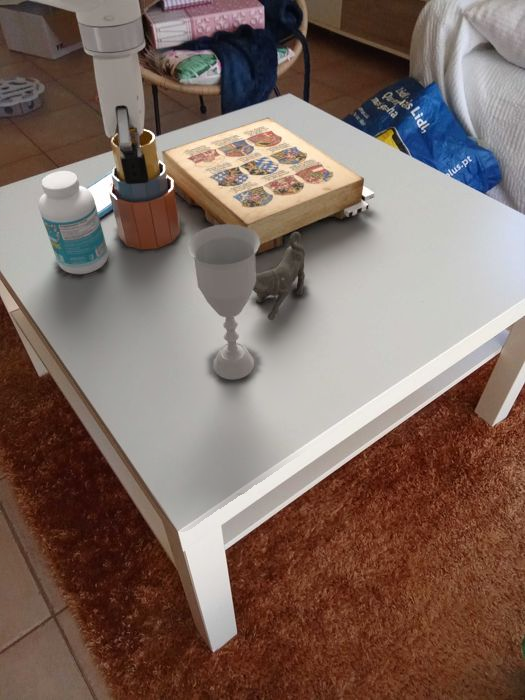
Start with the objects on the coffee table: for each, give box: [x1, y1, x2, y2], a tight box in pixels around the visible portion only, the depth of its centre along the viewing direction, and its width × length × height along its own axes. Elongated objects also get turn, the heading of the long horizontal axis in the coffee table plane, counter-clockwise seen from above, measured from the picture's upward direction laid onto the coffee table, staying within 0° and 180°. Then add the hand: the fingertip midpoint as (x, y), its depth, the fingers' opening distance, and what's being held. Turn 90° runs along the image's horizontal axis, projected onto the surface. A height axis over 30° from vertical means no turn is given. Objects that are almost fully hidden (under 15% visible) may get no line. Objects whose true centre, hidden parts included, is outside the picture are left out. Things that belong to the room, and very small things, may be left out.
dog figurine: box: [252, 231, 306, 322], centre depth 75 cm, size 12×6×7 cm, turn 150°
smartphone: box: [85, 170, 113, 220], centre depth 96 cm, size 8×1×15 cm
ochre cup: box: [110, 128, 161, 182], centre depth 83 cm, size 6×6×12 cm
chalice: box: [187, 224, 260, 381], centre depth 63 cm, size 7×7×18 cm
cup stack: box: [109, 159, 181, 251], centre depth 86 cm, size 9×9×11 cm
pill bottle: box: [38, 170, 109, 275], centre depth 79 cm, size 8×7×14 cm
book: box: [161, 117, 375, 255], centre depth 93 cm, size 25×6×28 cm
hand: (138, 168), depth 82 cm, fingers closed on ochre cup, 6 cm apart
